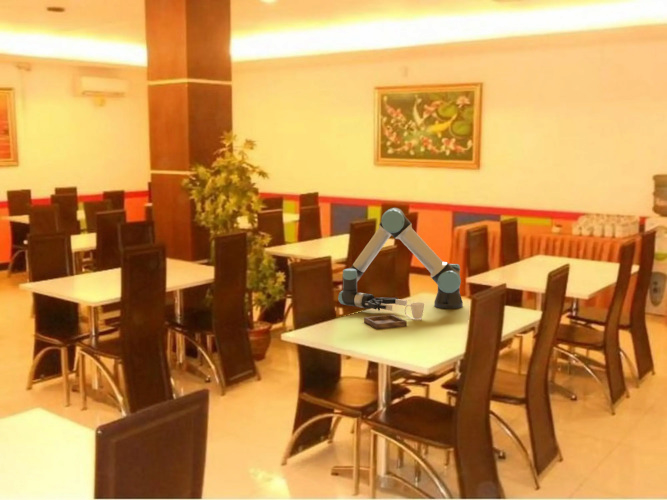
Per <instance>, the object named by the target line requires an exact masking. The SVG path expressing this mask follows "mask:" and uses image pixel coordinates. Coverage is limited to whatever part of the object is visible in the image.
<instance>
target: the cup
mask: <svg viewBox="0 0 667 500" xmlns="http://www.w3.org/2000/svg"><path fill="white" fill-rule="evenodd" d="M407 307H410V308H411V309H410V311H411V314H412V316H410V315H409V314H407V312H406V309H407ZM424 308H425V302H419V301H416V302H415V301H414V302H410V304H407V306H405V307H404V314H405V315H406V317H408V318H409V319H411V320H413V321H422V318H423V315H424V314H423V313H424V310H425V309H424Z"/></svg>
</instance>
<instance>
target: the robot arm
mask: <svg viewBox="0 0 667 500" xmlns="http://www.w3.org/2000/svg"><path fill="white" fill-rule="evenodd" d="M412 225H413V224H412V222H411V221H410V220H409V219H408V218H407V217H406V215H405V213H404V211H403V210H402V209H400V208H398V207H391V208H389V209H387V210H386V211H385V212H384V213H383V214H382V215H381V221H380V223H379V224H378V227H379V228H378V229H377V230H376V231H375V233H374V234H373V235H372V237H371V239H370V240H369V242H368V243H367V244H366V245H365V247H364V248H363V250H362V251H361V252H360V254H359V255H358V256H357V258H356V259H355V261H354V262H353V264H352V265H351V266H350V267H349V268H345V269H343V270H342V290H341V291H340V292H339V293H338V296H337V297H338V299H337V300H338V303H340V304H341V305H345V306H350V307H357V308H359V309H362V308H363V309H368V310H369V309H373V310H377V311H381V310H386V311H393V305H397V306H405V307H406V306H407V305H408V301H407V300H406V299H405V300H404V299H399V298H398V297H375V296H374V295H373V294H371V293H366V292H365V293H364V292H358V281H359V280H360V279H361V278H362V276H363V275H364V273H365V272H366V270H367V269H368V267H369V266H370V265H371V263H372V262H373V261H374V259H375V258H376V257H377V255H378V254H379V252H380V251H381V250H382V248H383V247H384V246H385V244H386V243H387V241H388V240H389V239H390V237H391V236H392V237H393V238H394V239H396V240H400V241H401V243H402V244H403V245H404V246H405V247H406V248H407V249H408V250H409V251H410V252H411V254H413V255H414V257H415V258H416V259H417V260H418V261H419V263H421V264H422V265H423V266H424V268H426V270H428V272H429V273H430V278H431V280H433V282H434V283H435V284H436V285H437V293H436V296H435V299H434V302H433V303H434V305H433V306H434V307H435V308H437V309H444V308H445V310H450V309H451V310H452V309H453V308H455V309H460V307H461V308H463V305H464V303H463V300H462V295H461V293H460V288H461V287H460V286H461V282H462V278H461V275H460V274H461V266H460V264H458V263H449V262H447V261H443V260H442V259H441V258H440V256H438V254H436V252H435V251H434V250H433V249H432V248H431V247H430V246H429V245H428V244H427V242H425V240H424V239H422V237H421V236H420V235H419V234H418V233H417V232H416V231H415V230H414V228H413V226H412ZM407 307H408V306H407ZM453 310H454V309H453Z"/></svg>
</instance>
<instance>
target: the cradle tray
mask: <svg viewBox="0 0 667 500" xmlns="http://www.w3.org/2000/svg"><path fill="white" fill-rule="evenodd" d="M363 323H364V324H366V325H369V326H370V327H372V328H374V329H375V330H384V329H393V328H402V327H407V320H405V319H402V318H401V317H398V316H397V315H394V314H386V315H385V314H384V315H376V316H366V317H365V316H364V317H363Z"/></svg>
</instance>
